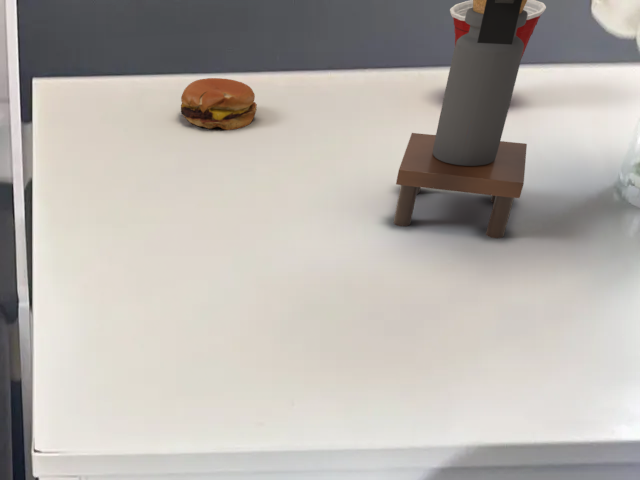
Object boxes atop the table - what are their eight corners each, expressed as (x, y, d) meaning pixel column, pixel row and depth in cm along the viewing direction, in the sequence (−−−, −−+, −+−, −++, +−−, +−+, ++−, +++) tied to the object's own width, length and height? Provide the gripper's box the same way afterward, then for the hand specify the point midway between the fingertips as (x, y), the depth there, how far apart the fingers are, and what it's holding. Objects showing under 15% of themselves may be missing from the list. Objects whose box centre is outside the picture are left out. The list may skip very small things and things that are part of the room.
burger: (223, 103, 127) (226, 67, 125) (269, 122, 121) (273, 85, 118) (163, 118, 124) (165, 81, 121) (207, 138, 117) (209, 100, 114)
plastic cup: (421, 92, 128) (440, -4, 121) (502, 90, 128) (526, -7, 120) (445, 118, 120) (467, 16, 112) (533, 116, 119) (561, 13, 112)
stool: (511, 200, 99) (527, 143, 95) (507, 243, 91) (523, 183, 87) (400, 188, 102) (411, 132, 99) (387, 228, 94) (398, 169, 91)
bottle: (420, 156, 93) (454, -10, 84) (452, 141, 96) (488, -21, 87) (475, 171, 90) (516, -1, 81) (507, 155, 93) (551, -12, 84)
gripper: (517, -272, 83) (464, -8, 96) (505, -267, 65) (441, 57, 78) (613, -277, 81) (545, -5, 93) (628, -273, 63) (542, 63, 75)
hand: (498, 24), depth 86 cm, fingers open, 13 cm apart
